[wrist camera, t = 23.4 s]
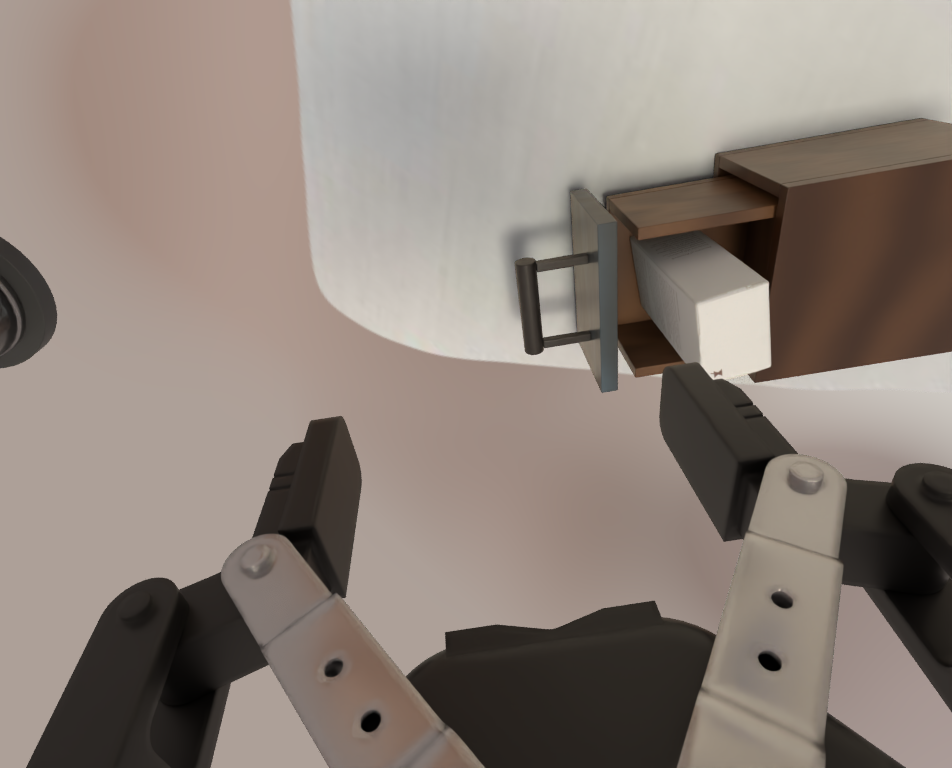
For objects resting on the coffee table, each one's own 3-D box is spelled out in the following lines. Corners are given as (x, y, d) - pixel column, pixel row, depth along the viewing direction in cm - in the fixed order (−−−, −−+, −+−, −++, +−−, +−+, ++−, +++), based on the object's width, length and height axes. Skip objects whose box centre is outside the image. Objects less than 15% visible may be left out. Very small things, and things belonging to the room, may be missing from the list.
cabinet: (699, 320, 46) (754, 383, 38) (715, 153, 38) (788, 187, 30) (871, 292, 46) (963, 349, 38) (921, 117, 38) (1050, 142, 30)
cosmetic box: (693, 288, 42) (773, 370, 32) (639, 305, 43) (701, 390, 33) (686, 214, 39) (772, 280, 29) (627, 233, 39) (693, 305, 29)
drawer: (520, 349, 45) (534, 403, 39) (502, 202, 39) (515, 238, 32) (738, 314, 45) (789, 363, 38) (759, 158, 38) (826, 185, 31)
